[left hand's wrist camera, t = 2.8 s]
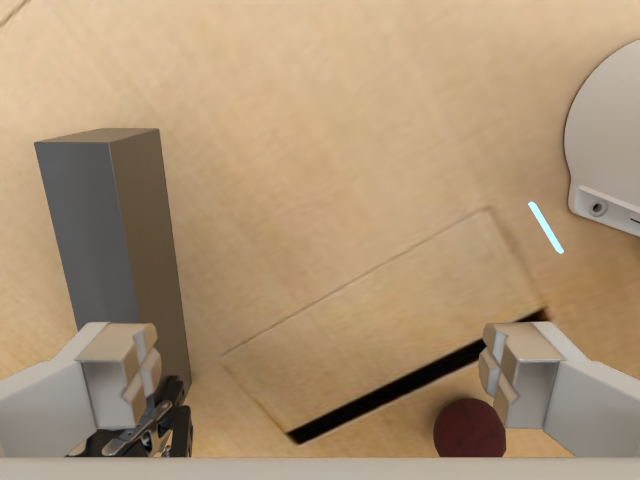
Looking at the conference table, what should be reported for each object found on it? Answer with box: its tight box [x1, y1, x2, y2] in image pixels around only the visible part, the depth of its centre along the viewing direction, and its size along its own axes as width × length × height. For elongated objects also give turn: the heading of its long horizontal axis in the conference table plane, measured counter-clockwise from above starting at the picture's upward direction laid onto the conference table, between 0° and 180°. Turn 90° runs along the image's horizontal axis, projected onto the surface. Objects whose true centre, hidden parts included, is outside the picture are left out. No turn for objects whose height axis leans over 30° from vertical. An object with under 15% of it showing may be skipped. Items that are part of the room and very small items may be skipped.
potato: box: [433, 399, 506, 457], centre depth 45 cm, size 7×8×7 cm
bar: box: [34, 129, 192, 452], centre depth 37 cm, size 28×5×9 cm, turn 0°
